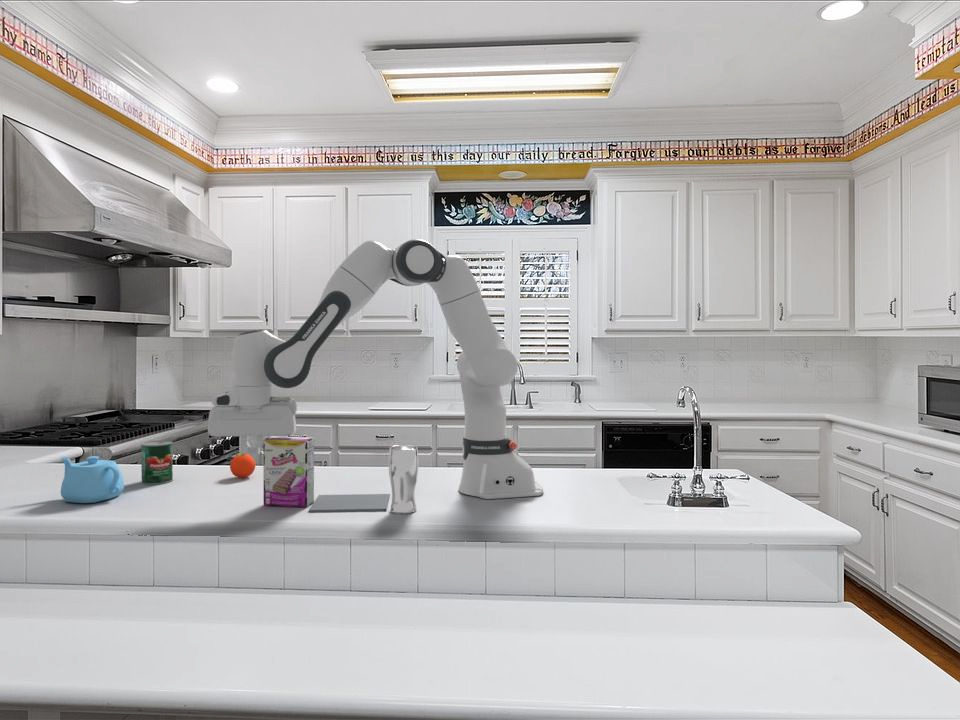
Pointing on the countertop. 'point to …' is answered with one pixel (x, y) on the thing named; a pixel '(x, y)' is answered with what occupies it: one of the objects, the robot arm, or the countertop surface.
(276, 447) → the candy bar box
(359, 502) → the grey rubber mat
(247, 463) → the clementine
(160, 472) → the canned tomato
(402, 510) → the beer glass
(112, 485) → the teapot
